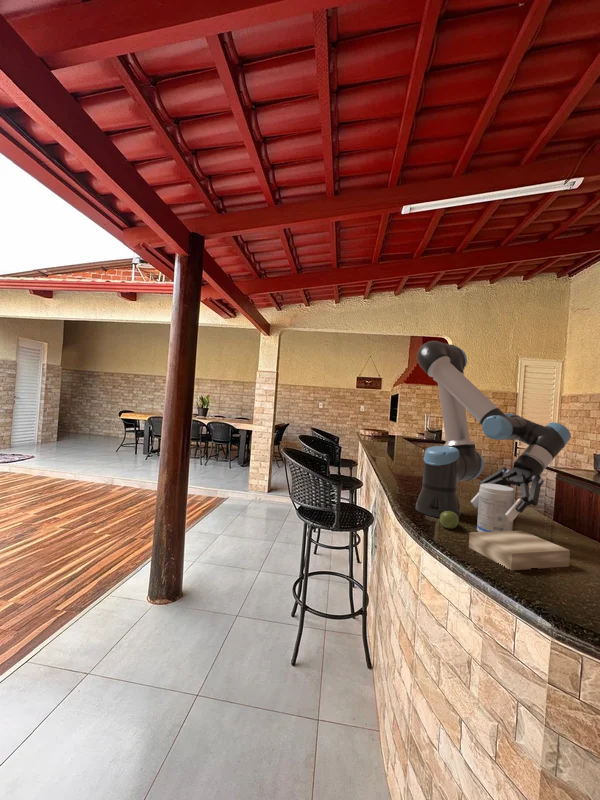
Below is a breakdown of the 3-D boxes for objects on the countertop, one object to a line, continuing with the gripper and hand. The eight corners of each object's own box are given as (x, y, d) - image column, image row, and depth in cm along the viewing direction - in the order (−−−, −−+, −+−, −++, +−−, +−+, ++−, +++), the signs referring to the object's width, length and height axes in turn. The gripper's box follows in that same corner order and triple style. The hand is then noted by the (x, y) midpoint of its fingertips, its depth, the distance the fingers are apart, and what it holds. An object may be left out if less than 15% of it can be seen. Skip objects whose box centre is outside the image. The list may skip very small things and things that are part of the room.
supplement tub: (489, 528, 120) (492, 482, 120) (518, 538, 112) (522, 489, 112) (469, 531, 116) (472, 483, 116) (498, 542, 107) (502, 491, 107)
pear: (440, 510, 117) (440, 508, 126) (439, 527, 116) (439, 524, 125) (459, 513, 115) (458, 510, 124) (458, 531, 114) (457, 527, 123)
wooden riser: (468, 547, 102) (469, 532, 102) (521, 544, 107) (522, 530, 107) (511, 570, 88) (512, 553, 88) (568, 566, 93) (569, 550, 93)
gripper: (577, 479, 106) (532, 534, 102) (506, 464, 130) (467, 507, 126) (564, 460, 105) (518, 515, 101) (494, 448, 129) (455, 492, 124)
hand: (489, 511), depth 113 cm, fingers open, 13 cm apart
